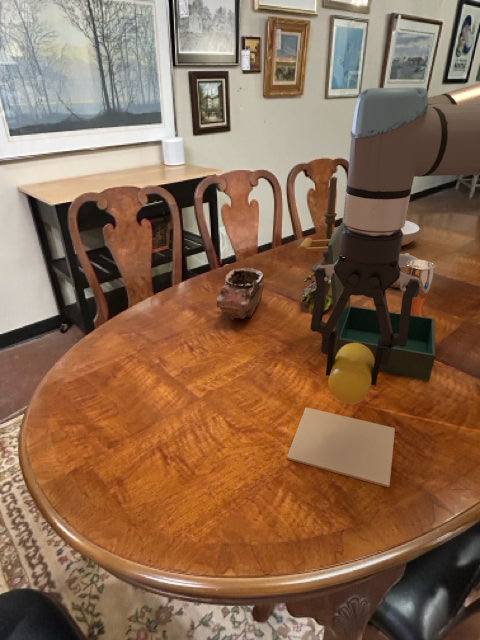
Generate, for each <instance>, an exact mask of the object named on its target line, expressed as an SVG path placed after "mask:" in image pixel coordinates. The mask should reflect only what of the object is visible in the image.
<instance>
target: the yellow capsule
mask: <svg viewBox="0 0 480 640" xmlns="http://www.w3.org/2000/svg"><path fill="white" fill-rule="evenodd" d="M374 362H375V360H374V356H373V354H372V352H371V350H370V349H369V348H368V347H366V346H365V345H363V344H360V343H349V344H346V345H345V346H343V347H342V348H341V349H340V350H339V351H338V353H337V355H336V358H335V361H334V364H333V367H332V370H331V373H330V376H328V381H327V385H328V390H329V392H330V394H331V396H332V397H333V398H334V399H335V400H336V401H338V402H339V403H341V404H344V405H356V404H359V403H361V402H363V401H364V400H365V399H366V398H367V396H368V395H369V394H370V391H371V386H372V385H371V381H372V374H373V368H374Z"/></svg>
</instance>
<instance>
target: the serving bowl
mask: <svg viewBox="0 0 480 640" xmlns="http://www.w3.org/2000/svg"><path fill="white" fill-rule="evenodd" d="M401 230H402V232H403V239H402V244H401V247H402V246H406V245H408V244H410V243H412V242H413V241H414V240H415V239H416V238H417V237H418V235H419V232H420V226H419V225H418V224H417V223H415V222H412V221H409V220H406V221H405V226H404V227H403V228H401Z"/></svg>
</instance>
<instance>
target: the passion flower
mask: <svg viewBox="0 0 480 640" xmlns="http://www.w3.org/2000/svg"><path fill="white" fill-rule="evenodd" d="M313 277H315V275H314V273H311V274H310V275H308V276H307V277H306V278H305V279H304V280H303V283H306V282H308V281H311V283H310V284H309V285H307V287H306V288H305V289H303V290H301V296H302V299H301V301H300V302H301V303H304V302H306V303H309V305H308V313H310V314H311V315H312V313H313V307H314V300H315V294H316V287H317V284H316V280H314V279H312V278H313ZM330 290H331V280H330V281H328V288H327V294H326V300H325V306H324V312H326V311H327V310H328V309H329V308H330V306H331V303H332V294H329V292H330Z"/></svg>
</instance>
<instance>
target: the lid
mask: <svg viewBox="0 0 480 640" xmlns="http://www.w3.org/2000/svg"><path fill="white" fill-rule="evenodd" d="M344 226H345V224H344V223H343V221H342V222H341V223H340V225H339V226H338V228H337V230H336V231H335V232H334V234H333V236H332V237H331V239H327V240H326V239H314V240H313V238H311V237H306V238H305V239H304V240H303V241H302V243H301V244H300V245H299V246H298V248H297V253H298V254H299V255H301V256H306V255H307V253H308V252H309V253H310V252H311V253H312V252H322V251H328V254H329V265H330V264H335V263H336V261H337V260H338V258H339V251H340V242H341V232H342V228H343V227H344ZM326 243H329V244H328V247H325V246H315V247H314V246H313V245H322V244H323V245H324V244H325V245H326ZM343 288H344V286H343V285H342V283H341V281H340V280H339V278H338V277H337V275H336V273H333V274H332V278H331V287H330V290H331V295H332V301H331V303H332V310H333V309H334V307H335V305H336V303H337V301H338V299H339V296H340V294H341V292H342V290H343ZM350 306H351V297H350V298H349V300H348V302H347V303H346V305H345V307H344V309H343V311H342V313H341V315H340V317H339V319H338V321H337V323H336V325H335V327H334V331H338V335H337V337H339V335H340V332H341V329H342V327H343V324H344V321H345V318H346V315H347V312H348V309H349V307H350Z"/></svg>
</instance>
